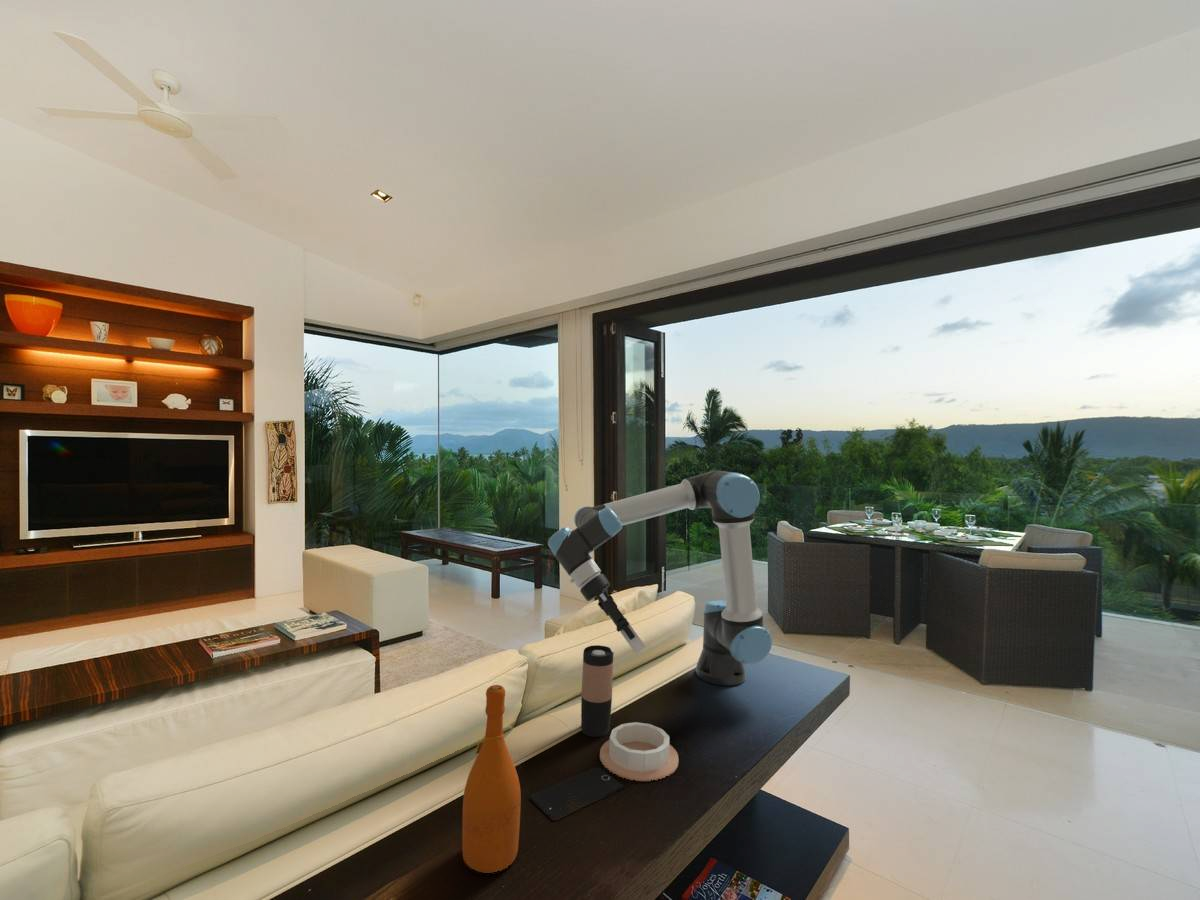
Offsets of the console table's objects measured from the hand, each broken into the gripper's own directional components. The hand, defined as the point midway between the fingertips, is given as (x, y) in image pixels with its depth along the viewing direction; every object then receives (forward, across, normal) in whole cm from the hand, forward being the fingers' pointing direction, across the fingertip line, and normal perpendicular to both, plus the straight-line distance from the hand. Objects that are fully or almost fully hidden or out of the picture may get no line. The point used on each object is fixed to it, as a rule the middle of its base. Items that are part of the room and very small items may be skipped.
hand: (640, 650), depth 147 cm
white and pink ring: (+18, +6, -15) cm, 24 cm away
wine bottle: (+10, +38, -43) cm, 58 cm away
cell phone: (+14, +19, -28) cm, 37 cm away
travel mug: (+8, -5, -21) cm, 23 cm away
